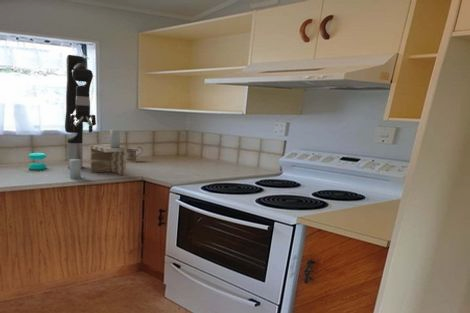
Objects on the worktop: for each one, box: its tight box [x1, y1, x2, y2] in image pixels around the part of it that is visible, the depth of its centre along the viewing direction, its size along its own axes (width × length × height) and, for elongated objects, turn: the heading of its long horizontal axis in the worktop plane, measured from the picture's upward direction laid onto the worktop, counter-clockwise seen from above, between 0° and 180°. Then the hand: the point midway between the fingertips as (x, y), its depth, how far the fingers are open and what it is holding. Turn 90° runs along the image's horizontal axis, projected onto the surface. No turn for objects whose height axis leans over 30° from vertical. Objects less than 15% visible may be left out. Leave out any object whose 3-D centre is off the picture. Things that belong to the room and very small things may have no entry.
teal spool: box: [28, 152, 47, 171], centre depth 218 cm, size 10×10×10 cm
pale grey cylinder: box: [109, 129, 121, 148], centre depth 211 cm, size 6×6×11 cm
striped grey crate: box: [89, 143, 127, 176], centre depth 215 cm, size 20×14×18 cm
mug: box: [126, 146, 144, 164], centre depth 264 cm, size 14×10×12 cm
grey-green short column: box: [69, 159, 82, 180], centre depth 200 cm, size 6×6×11 cm
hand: (83, 132), depth 193 cm, fingers open, 8 cm apart
